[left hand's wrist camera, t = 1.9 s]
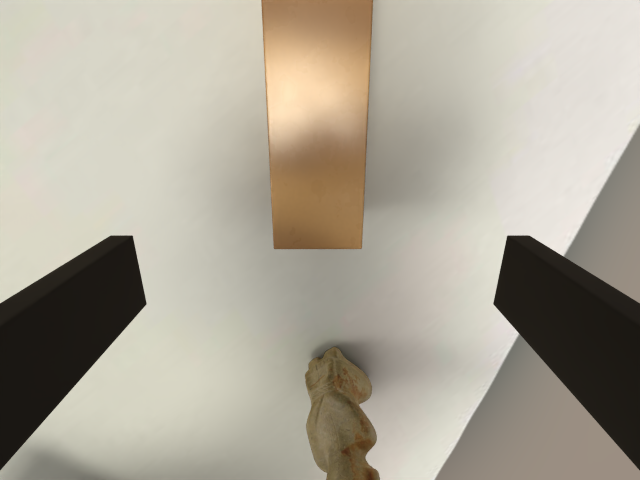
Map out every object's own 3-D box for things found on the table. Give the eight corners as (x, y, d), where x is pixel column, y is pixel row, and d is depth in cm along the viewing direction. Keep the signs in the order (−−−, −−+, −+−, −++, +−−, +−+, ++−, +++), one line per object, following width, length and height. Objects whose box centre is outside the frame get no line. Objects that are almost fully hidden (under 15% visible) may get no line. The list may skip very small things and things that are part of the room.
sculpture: (333, 401, 39) (342, 568, 25) (295, 358, 37) (281, 513, 23) (378, 377, 38) (414, 538, 24) (341, 331, 35) (357, 477, 21)
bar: (350, 211, 31) (361, 249, 23) (285, 211, 31) (273, 249, 23) (361, -140, 23) (386, -286, 14) (273, -141, 23) (246, -287, 14)
